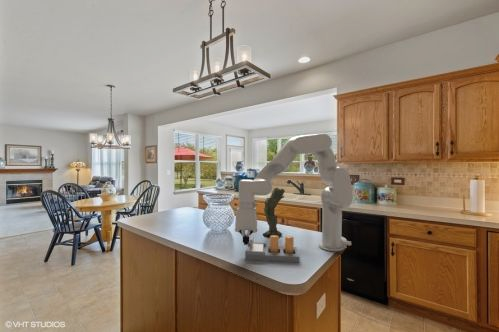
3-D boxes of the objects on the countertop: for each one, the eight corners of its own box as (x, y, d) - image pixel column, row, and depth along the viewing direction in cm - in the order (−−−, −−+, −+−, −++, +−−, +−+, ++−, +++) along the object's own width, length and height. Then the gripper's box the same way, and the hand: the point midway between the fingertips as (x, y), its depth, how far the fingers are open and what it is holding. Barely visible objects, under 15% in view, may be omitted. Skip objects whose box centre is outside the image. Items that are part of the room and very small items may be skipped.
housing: (296, 252, 115) (296, 244, 115) (299, 262, 103) (299, 253, 103) (247, 249, 117) (248, 242, 117) (245, 259, 105) (245, 251, 105)
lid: (263, 246, 115) (263, 236, 115) (262, 253, 106) (262, 242, 106) (251, 245, 116) (251, 235, 116) (249, 252, 106) (249, 242, 106)
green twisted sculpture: (259, 237, 135) (272, 186, 136) (256, 233, 142) (268, 185, 143) (281, 240, 138) (293, 191, 140) (276, 237, 145) (288, 190, 147)
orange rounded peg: (284, 254, 112) (284, 235, 112) (292, 255, 111) (293, 236, 111) (285, 258, 108) (285, 238, 108) (293, 258, 107) (294, 238, 107)
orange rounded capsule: (277, 254, 112) (277, 235, 113) (279, 257, 108) (279, 237, 109) (268, 254, 112) (269, 235, 112) (270, 257, 108) (271, 237, 108)
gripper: (262, 204, 114) (262, 242, 114) (232, 203, 115) (231, 240, 116) (261, 207, 107) (261, 247, 107) (229, 206, 108) (229, 246, 108)
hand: (245, 244), depth 111 cm, fingers closed
